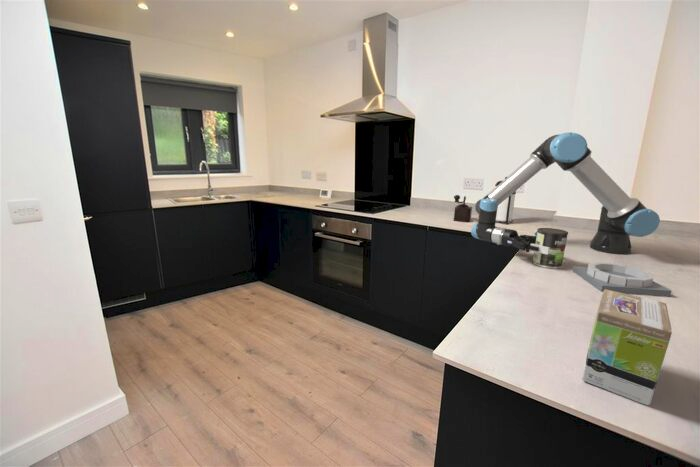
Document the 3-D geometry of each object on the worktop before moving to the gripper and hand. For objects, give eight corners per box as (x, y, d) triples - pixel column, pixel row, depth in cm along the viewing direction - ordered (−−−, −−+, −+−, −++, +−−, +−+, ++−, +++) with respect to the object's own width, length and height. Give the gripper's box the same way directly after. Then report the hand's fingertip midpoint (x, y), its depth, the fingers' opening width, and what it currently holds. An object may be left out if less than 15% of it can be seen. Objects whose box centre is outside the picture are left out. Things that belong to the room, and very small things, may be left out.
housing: (629, 275, 116) (632, 263, 115) (670, 296, 98) (673, 283, 97) (572, 271, 120) (574, 259, 118) (601, 291, 101) (603, 278, 100)
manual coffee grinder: (454, 218, 222) (457, 192, 218) (471, 219, 217) (474, 193, 213) (451, 222, 209) (453, 195, 204) (468, 224, 204) (471, 196, 199)
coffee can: (568, 266, 124) (574, 232, 121) (550, 270, 120) (556, 234, 117) (543, 259, 134) (548, 226, 130) (526, 262, 130) (531, 228, 126)
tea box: (652, 409, 54) (674, 331, 50) (580, 381, 60) (595, 311, 57) (649, 367, 65) (667, 300, 61) (589, 347, 71) (602, 286, 68)
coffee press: (519, 224, 202) (526, 177, 195) (494, 224, 203) (500, 177, 196) (507, 219, 219) (512, 175, 212) (484, 219, 219) (489, 175, 212)
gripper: (519, 241, 148) (569, 252, 131) (487, 249, 134) (539, 263, 117) (521, 225, 146) (573, 234, 129) (489, 232, 132) (542, 243, 115)
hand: (557, 248), depth 123 cm, fingers open, 13 cm apart
